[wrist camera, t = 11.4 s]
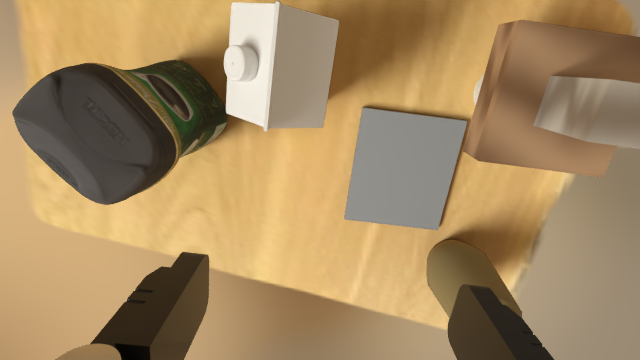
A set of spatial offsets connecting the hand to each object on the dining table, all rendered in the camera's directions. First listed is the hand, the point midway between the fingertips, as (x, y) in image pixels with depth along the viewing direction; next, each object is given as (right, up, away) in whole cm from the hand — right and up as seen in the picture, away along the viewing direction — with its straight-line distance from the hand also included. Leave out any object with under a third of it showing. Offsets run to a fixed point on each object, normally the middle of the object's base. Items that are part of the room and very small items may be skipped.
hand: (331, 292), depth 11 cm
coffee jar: (-16, +12, +28) cm, 34 cm away
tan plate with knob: (+20, +11, +20) cm, 30 cm away
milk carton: (-3, +16, +26) cm, 31 cm away
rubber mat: (+10, +5, +30) cm, 32 cm away
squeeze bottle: (+17, -7, +35) cm, 39 cm away
